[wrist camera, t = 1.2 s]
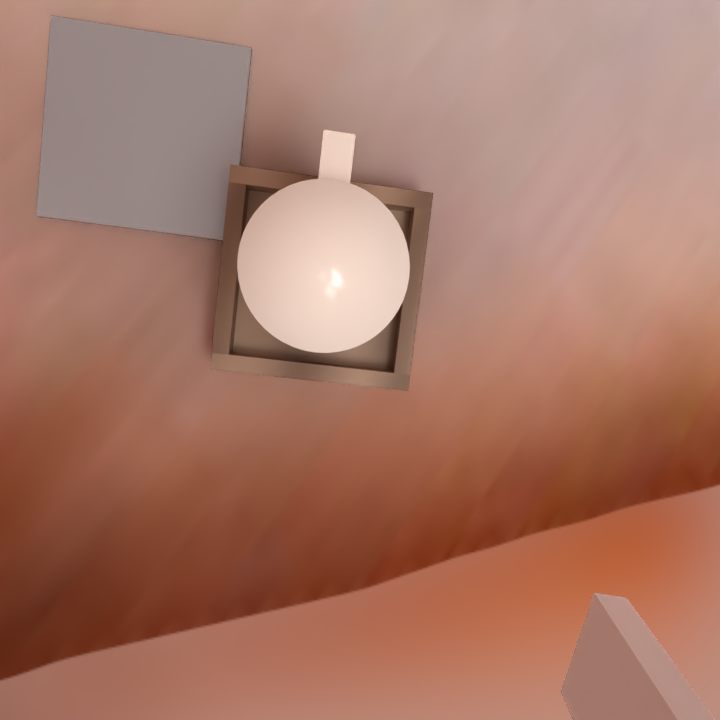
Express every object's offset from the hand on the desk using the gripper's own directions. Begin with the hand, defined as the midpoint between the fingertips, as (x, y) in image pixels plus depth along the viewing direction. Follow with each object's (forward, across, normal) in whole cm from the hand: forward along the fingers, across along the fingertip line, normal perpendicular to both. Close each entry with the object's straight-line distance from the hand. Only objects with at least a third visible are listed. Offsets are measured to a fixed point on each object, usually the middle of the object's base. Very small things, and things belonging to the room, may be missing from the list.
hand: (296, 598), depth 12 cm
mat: (+27, +14, -11) cm, 32 cm away
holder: (+26, +2, -4) cm, 26 cm away
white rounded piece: (+24, +1, -5) cm, 25 cm away
